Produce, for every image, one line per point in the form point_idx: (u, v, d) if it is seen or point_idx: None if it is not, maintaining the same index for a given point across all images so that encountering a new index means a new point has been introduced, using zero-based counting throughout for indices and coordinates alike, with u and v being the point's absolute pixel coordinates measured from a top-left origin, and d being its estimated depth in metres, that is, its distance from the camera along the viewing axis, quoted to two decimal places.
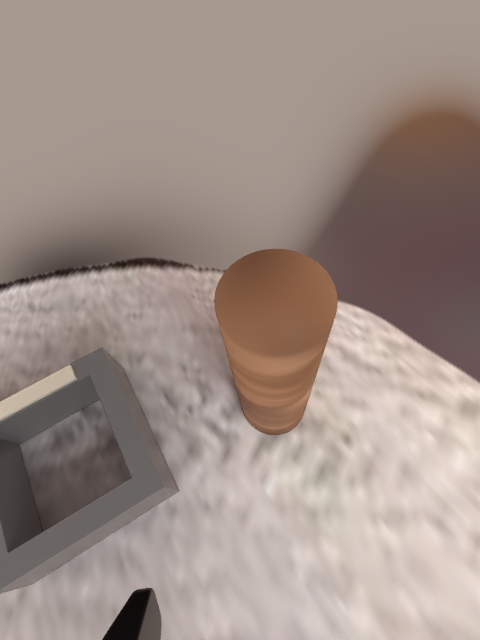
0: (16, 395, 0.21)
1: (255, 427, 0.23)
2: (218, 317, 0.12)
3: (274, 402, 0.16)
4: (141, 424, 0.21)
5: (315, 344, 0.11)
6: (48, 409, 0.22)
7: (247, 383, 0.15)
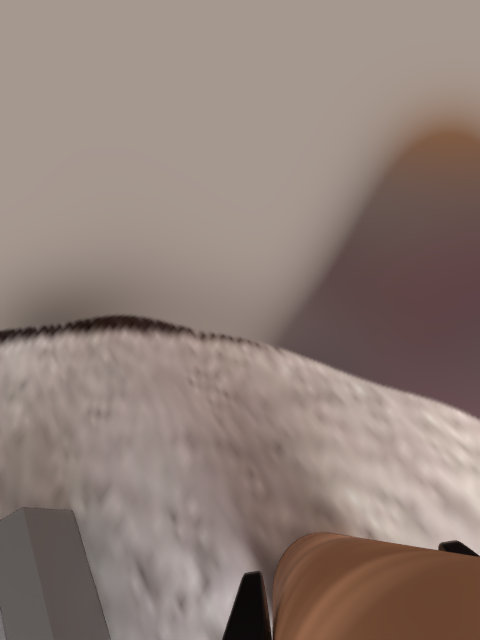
0: None
1: None
2: None
3: None
4: None
5: None
6: None
7: None
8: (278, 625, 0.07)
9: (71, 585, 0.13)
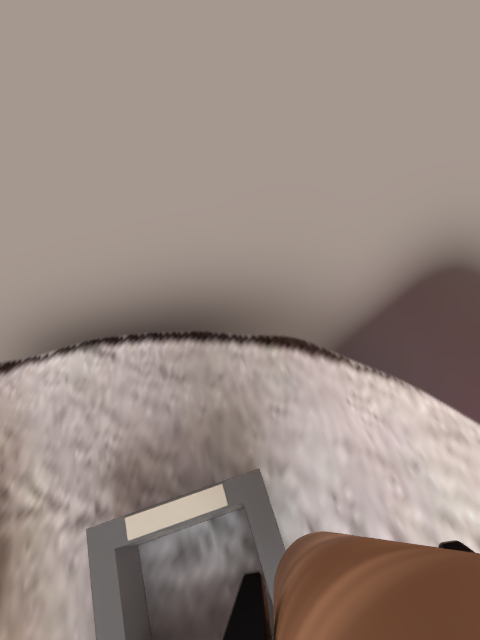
0: (157, 510, 0.18)
1: None
2: None
3: None
4: None
5: None
6: (185, 525, 0.19)
7: None
8: (279, 623, 0.07)
9: None
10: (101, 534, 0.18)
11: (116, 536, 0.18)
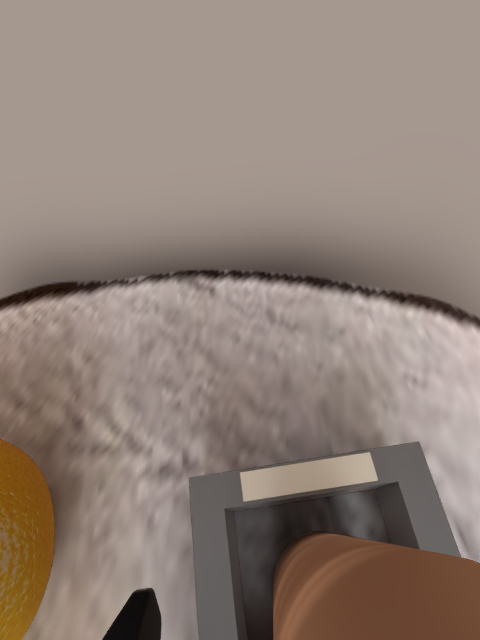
0: (283, 470, 0.14)
1: None
2: None
3: None
4: None
5: None
6: (307, 497, 0.15)
7: None
8: (278, 605, 0.08)
9: None
10: (207, 487, 0.14)
11: (227, 493, 0.14)
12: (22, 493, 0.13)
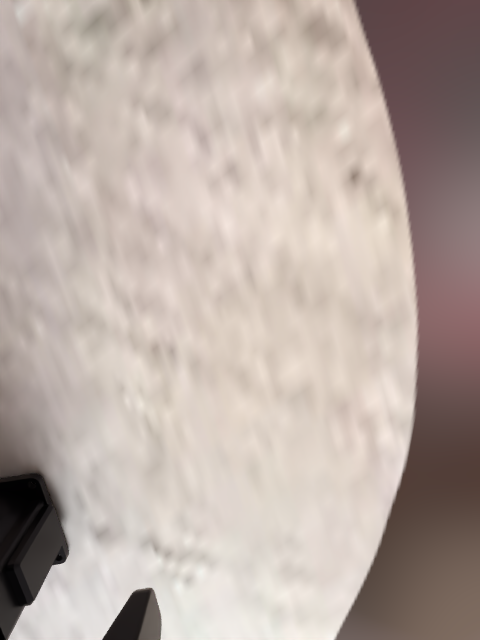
0: None
1: None
2: None
3: None
4: None
5: None
6: None
7: None
8: None
9: None
10: None
11: None
12: None
